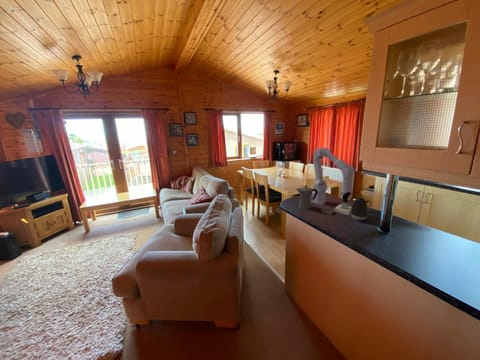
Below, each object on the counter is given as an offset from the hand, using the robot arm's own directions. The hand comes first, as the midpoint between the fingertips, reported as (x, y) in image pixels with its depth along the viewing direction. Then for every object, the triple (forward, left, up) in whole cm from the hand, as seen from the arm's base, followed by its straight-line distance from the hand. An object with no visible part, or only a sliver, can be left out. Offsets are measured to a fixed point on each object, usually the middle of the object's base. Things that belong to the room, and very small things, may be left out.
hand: (345, 202), depth 144 cm
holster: (-8, -9, -8) cm, 14 cm away
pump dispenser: (+11, -5, -8) cm, 14 cm away
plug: (0, 0, -8) cm, 8 cm away
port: (0, 0, -8) cm, 8 cm away
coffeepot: (-24, -11, -8) cm, 28 cm away
